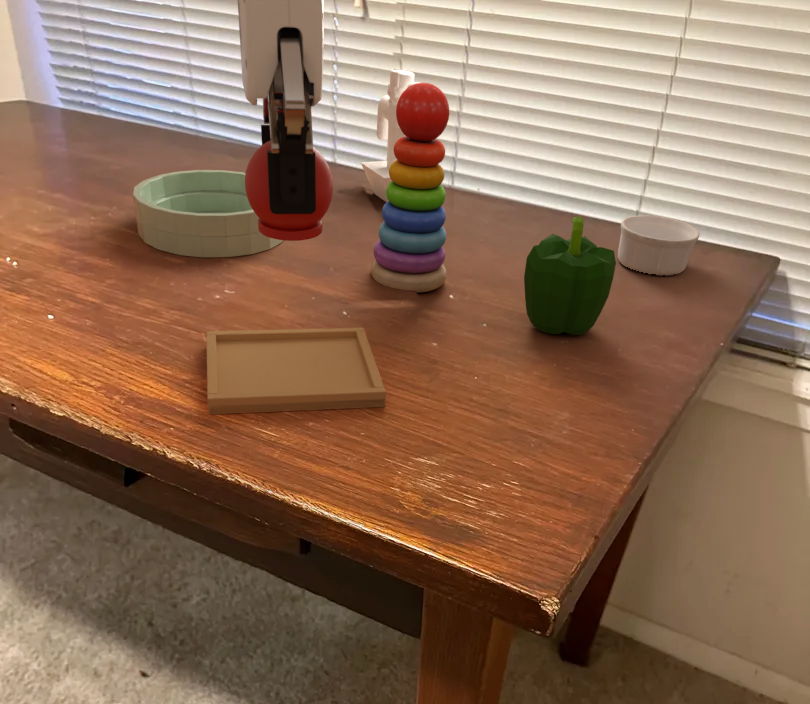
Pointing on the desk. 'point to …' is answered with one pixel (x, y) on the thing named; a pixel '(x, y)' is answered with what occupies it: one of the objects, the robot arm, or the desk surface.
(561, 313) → the bell pepper
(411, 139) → the stacking toy
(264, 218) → the red round based ball
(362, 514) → the desk surface
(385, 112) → the figurine
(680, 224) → the ramekin
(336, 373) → the tray
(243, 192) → the bowl
